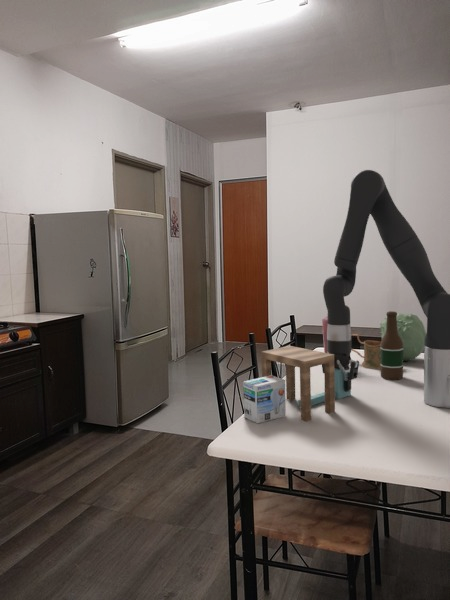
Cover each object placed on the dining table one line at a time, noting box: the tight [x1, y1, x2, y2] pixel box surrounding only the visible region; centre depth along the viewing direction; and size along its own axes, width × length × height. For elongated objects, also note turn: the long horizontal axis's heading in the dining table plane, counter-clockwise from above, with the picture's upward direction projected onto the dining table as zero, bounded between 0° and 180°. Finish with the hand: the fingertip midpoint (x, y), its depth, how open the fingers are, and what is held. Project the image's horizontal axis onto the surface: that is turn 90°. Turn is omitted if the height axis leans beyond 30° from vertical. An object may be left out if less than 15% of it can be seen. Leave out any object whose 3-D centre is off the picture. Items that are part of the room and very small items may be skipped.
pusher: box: [297, 368, 352, 409], centre depth 146 cm, size 21×4×9 cm, turn 127°
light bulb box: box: [243, 374, 287, 424], centre depth 134 cm, size 11×7×11 cm, turn 123°
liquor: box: [321, 315, 328, 353], centre depth 188 cm, size 7×7×28 cm
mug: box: [351, 333, 381, 370], centre depth 189 cm, size 12×18×12 cm, turn 54°
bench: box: [261, 345, 336, 422], centre depth 139 cm, size 18×12×17 cm, turn 37°
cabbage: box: [379, 312, 427, 362], centre depth 194 cm, size 16×19×20 cm
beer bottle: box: [379, 311, 404, 381], centre depth 169 cm, size 8×8×24 cm
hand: (339, 389), depth 151 cm, fingers open, 5 cm apart
